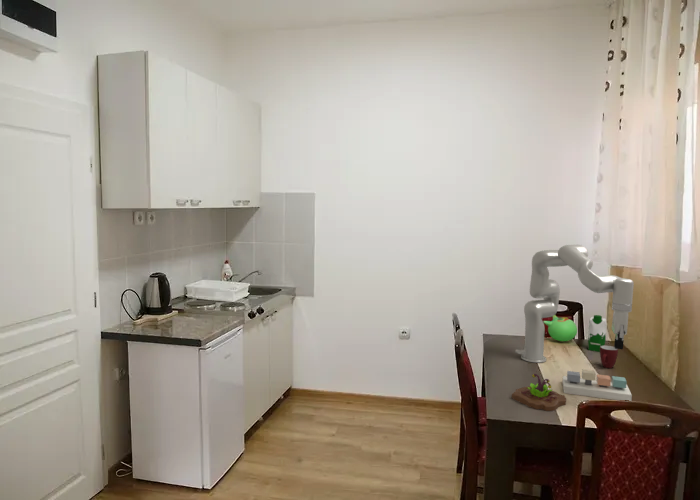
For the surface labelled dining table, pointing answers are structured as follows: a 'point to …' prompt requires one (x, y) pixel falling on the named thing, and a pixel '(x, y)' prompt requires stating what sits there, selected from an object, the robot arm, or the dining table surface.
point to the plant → (539, 396)
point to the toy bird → (561, 328)
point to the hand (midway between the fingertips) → (618, 348)
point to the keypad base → (596, 390)
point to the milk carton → (596, 333)
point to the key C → (603, 380)
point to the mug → (608, 356)
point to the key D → (619, 382)
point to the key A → (573, 376)
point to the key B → (588, 376)
